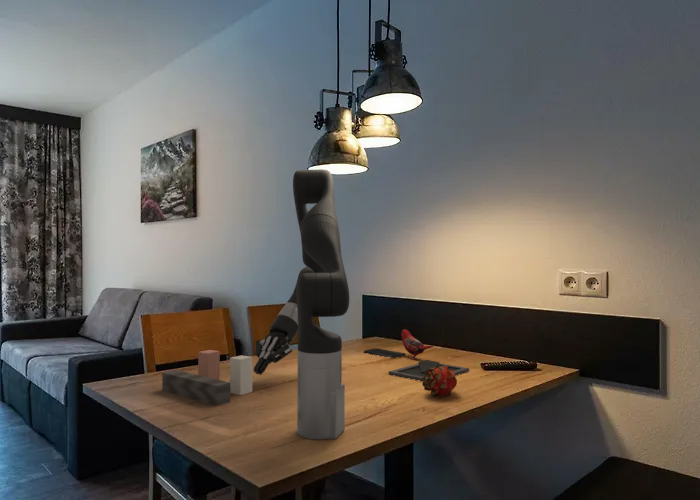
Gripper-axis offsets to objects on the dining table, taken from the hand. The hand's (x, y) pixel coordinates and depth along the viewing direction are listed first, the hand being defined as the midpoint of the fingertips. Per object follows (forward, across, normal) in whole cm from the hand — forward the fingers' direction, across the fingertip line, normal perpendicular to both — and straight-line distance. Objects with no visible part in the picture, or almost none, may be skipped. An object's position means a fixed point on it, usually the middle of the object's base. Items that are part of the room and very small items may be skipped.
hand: (257, 372), depth 137 cm
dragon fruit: (-16, +40, +24) cm, 49 cm away
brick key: (+7, -13, -1) cm, 15 cm away
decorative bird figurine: (-40, +14, +48) cm, 64 cm away
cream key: (+7, 0, -1) cm, 7 cm away
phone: (-42, -1, +50) cm, 65 cm away
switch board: (+11, -6, -4) cm, 13 cm away
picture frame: (-30, +26, +38) cm, 55 cm away
